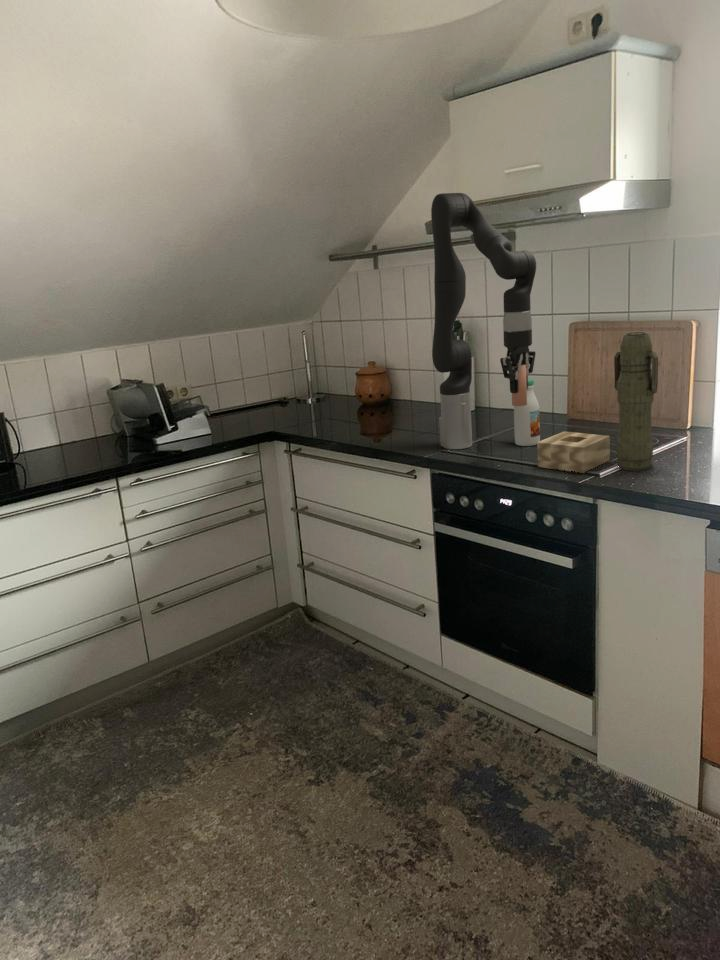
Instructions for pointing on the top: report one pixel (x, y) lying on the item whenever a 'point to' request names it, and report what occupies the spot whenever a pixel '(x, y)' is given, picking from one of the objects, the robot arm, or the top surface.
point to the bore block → (573, 451)
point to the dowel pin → (520, 388)
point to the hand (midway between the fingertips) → (519, 391)
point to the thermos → (635, 400)
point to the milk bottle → (527, 420)
